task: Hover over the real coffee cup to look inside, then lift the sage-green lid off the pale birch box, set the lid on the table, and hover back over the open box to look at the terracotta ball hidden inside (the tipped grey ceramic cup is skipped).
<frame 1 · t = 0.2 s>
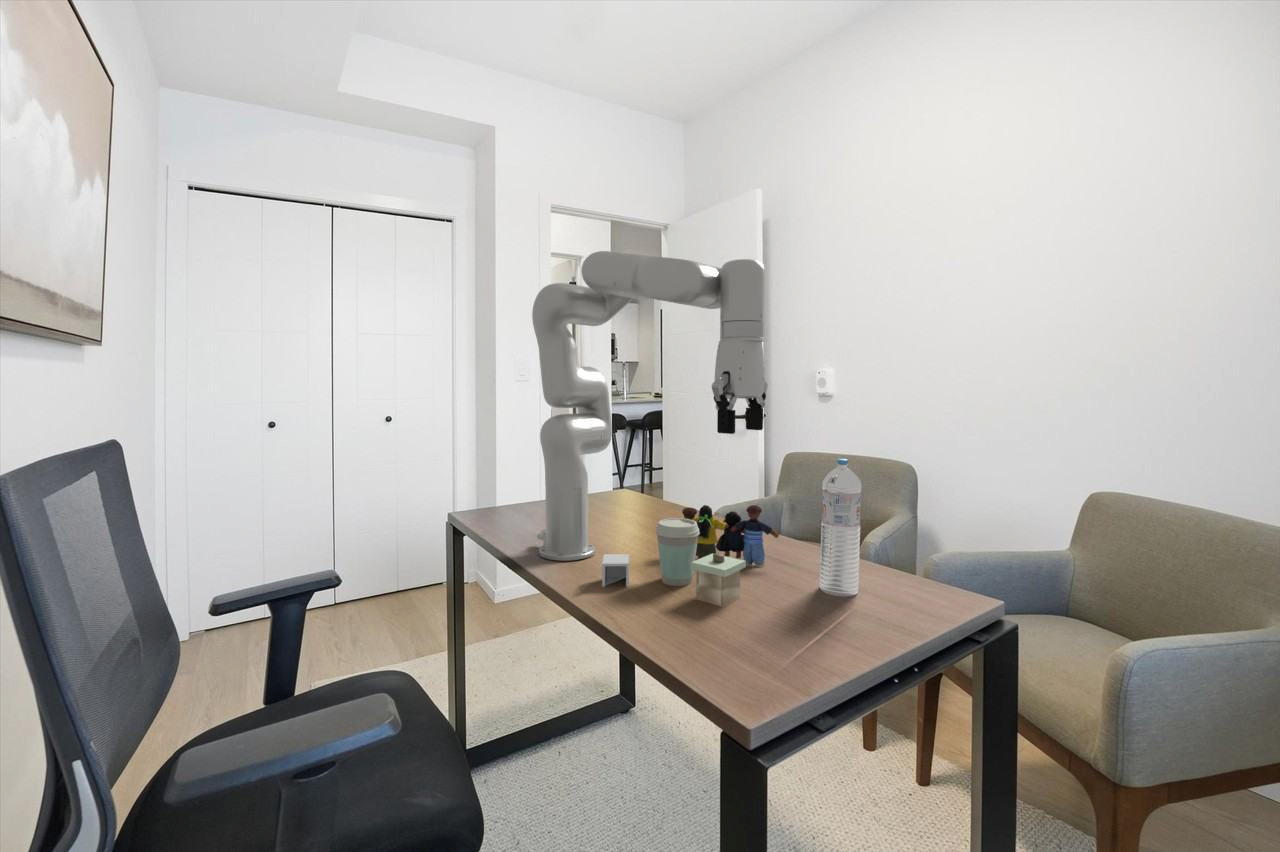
hand: (740, 431, 105), 30 cm above the table, fingers open, 9 cm apart
doll family: (722, 562, 130), on the table
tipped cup: (615, 584, 116), on the table
box: (718, 600, 107), on the table
ball: (718, 598, 107), resting on box
lid: (718, 568, 106), point 6 cm above the table, touching box
coffee cup: (677, 584, 116), on the table
water bottle: (838, 593, 111), on the table
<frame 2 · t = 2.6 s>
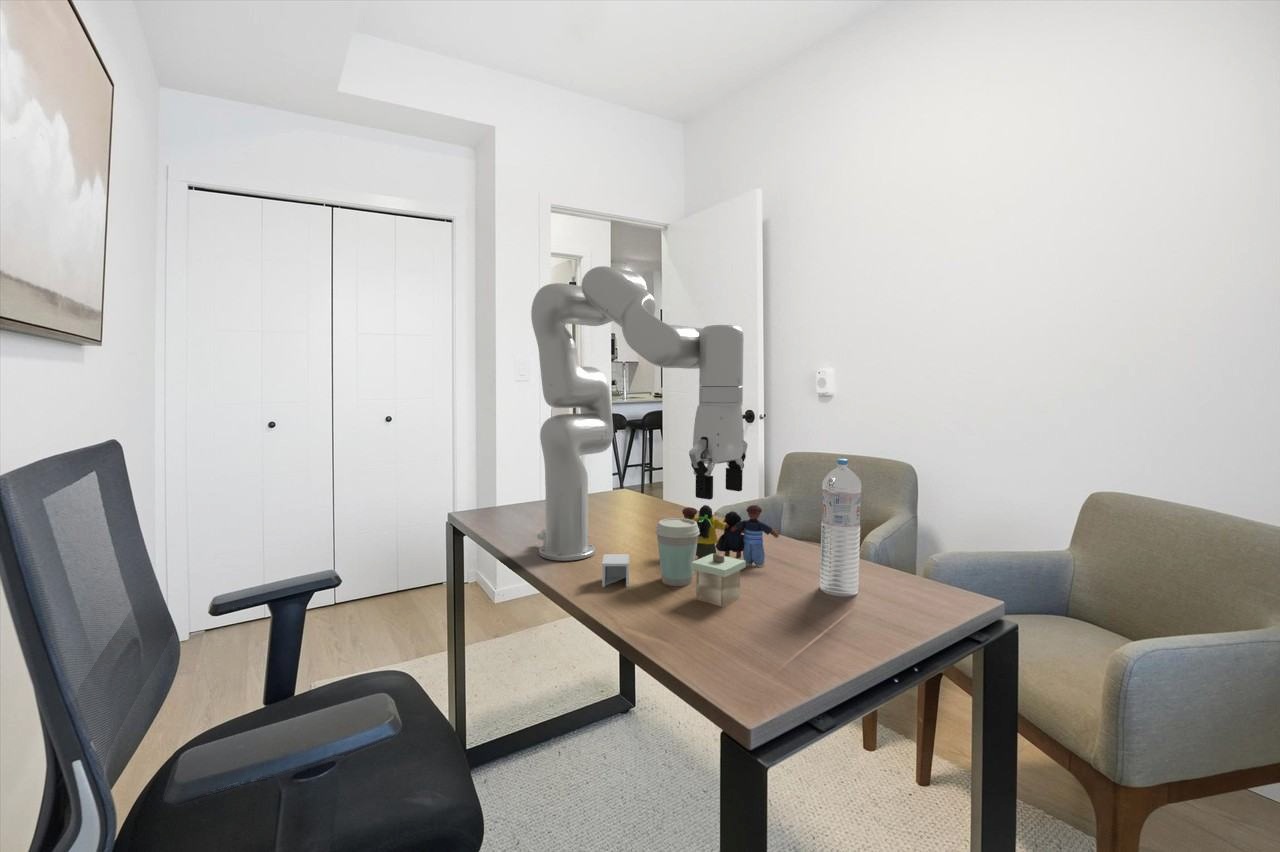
hand: (719, 494, 105), 19 cm above the table, fingers open, 9 cm apart
nothing on the table moved.
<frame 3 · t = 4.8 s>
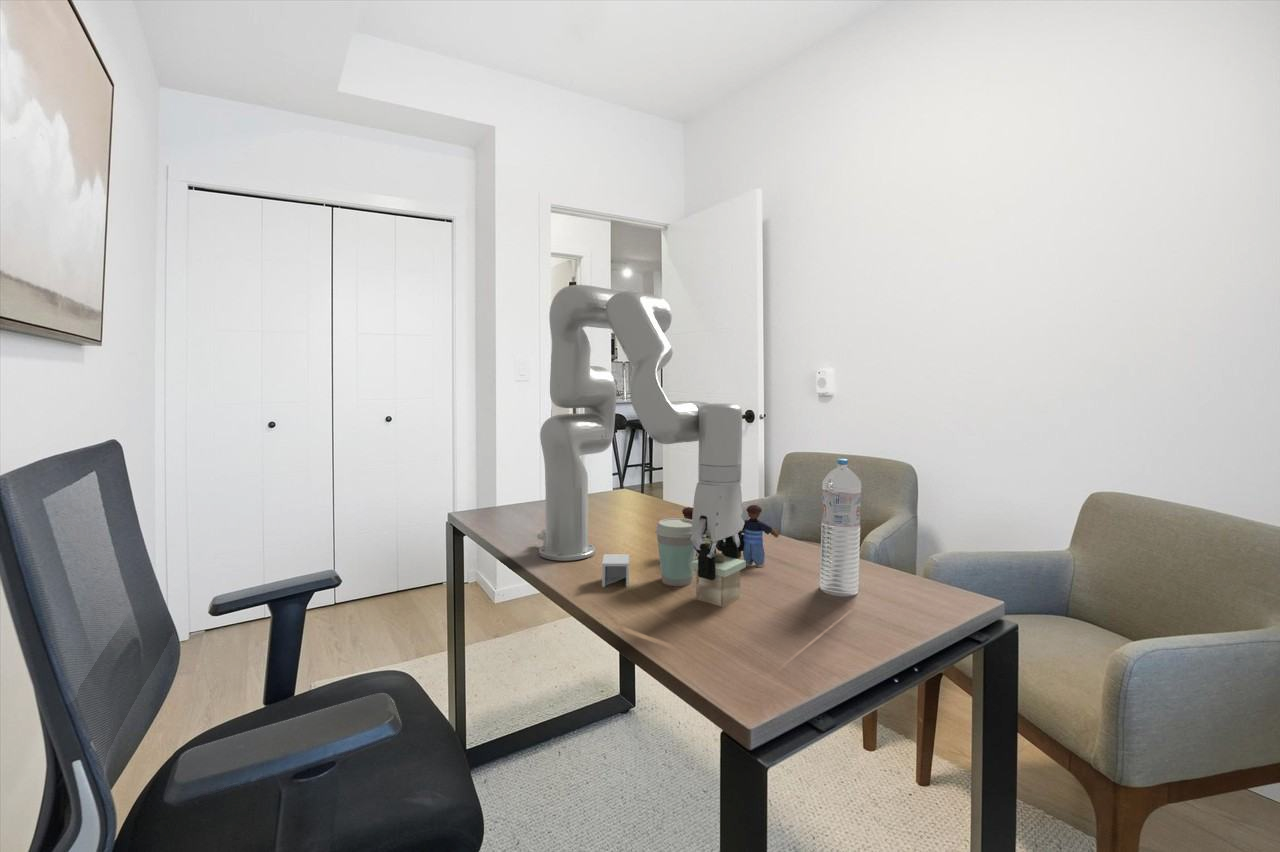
hand: (718, 572, 106), 5 cm above the table, fingers closed on lid, 7 cm apart
lid: (718, 568, 106), point 6 cm above the table, touching box, gripper
everything else where it was.
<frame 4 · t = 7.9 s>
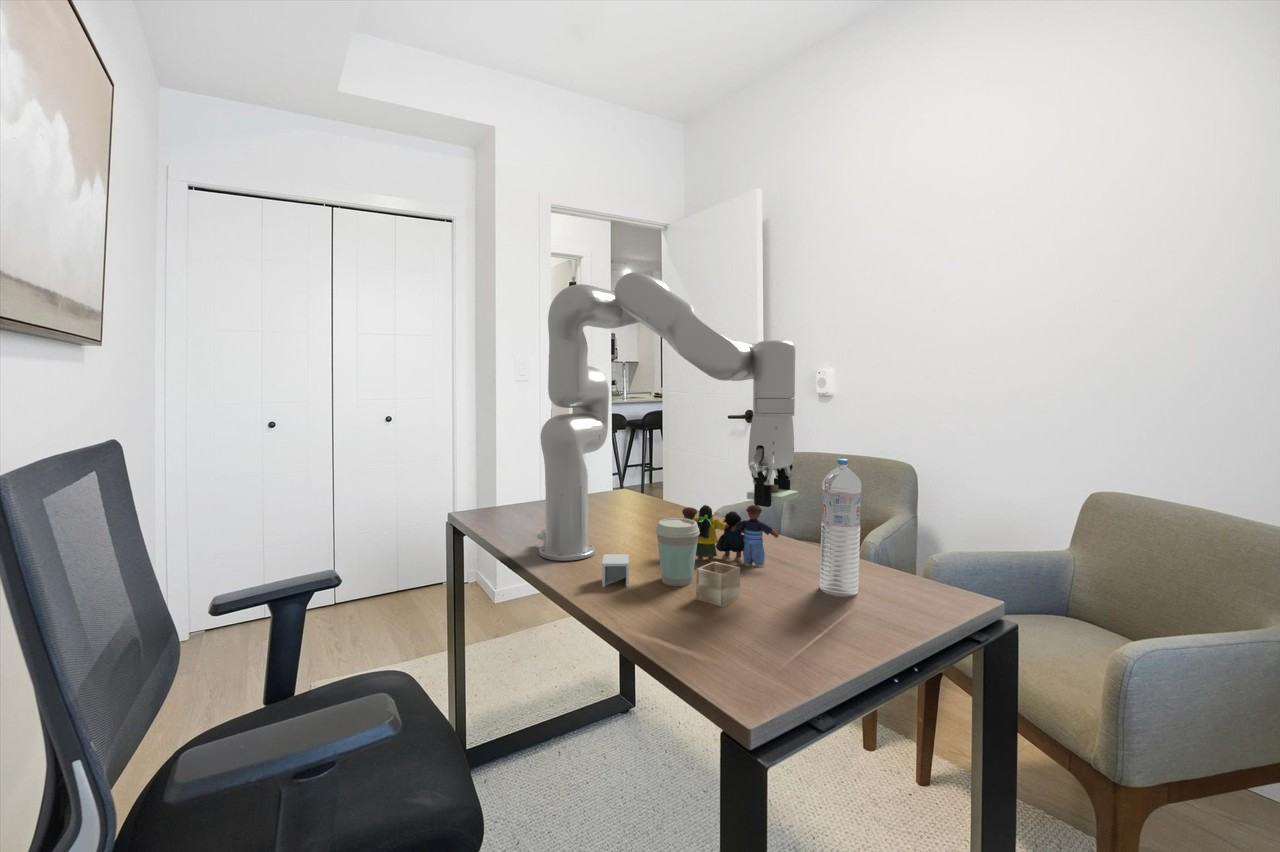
hand: (772, 501, 112), 17 cm above the table, fingers closed on lid, 7 cm apart
lid: (772, 498, 112), point 17 cm above the table, touching gripper
everything else where it was.
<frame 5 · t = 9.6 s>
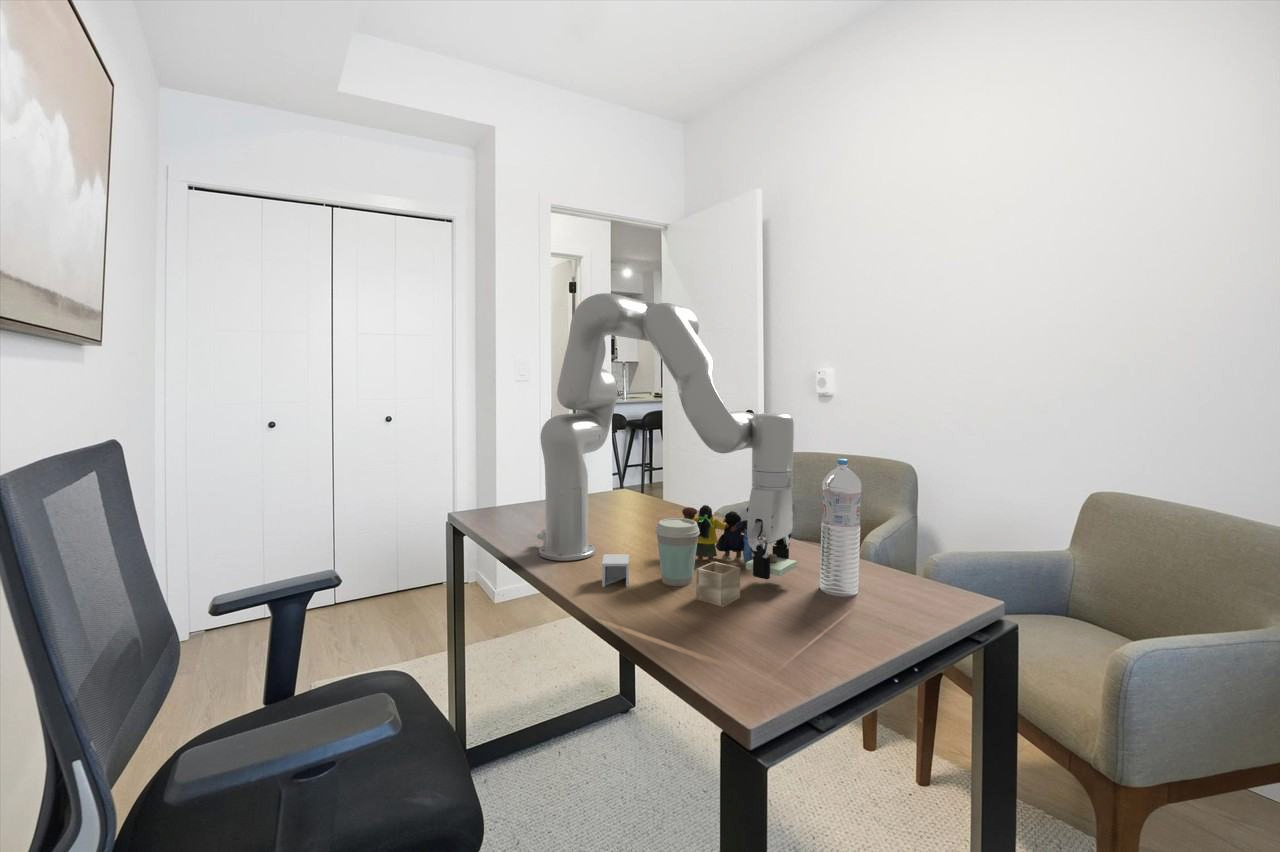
hand: (771, 571, 113), 3 cm above the table, fingers closed on lid, 7 cm apart
lid: (771, 568, 113), point 4 cm above the table, touching gripper
everything else where it was.
when the fingers open (1 cm above the table, at t = 11.0 s): lid drops 3 cm, on the table.
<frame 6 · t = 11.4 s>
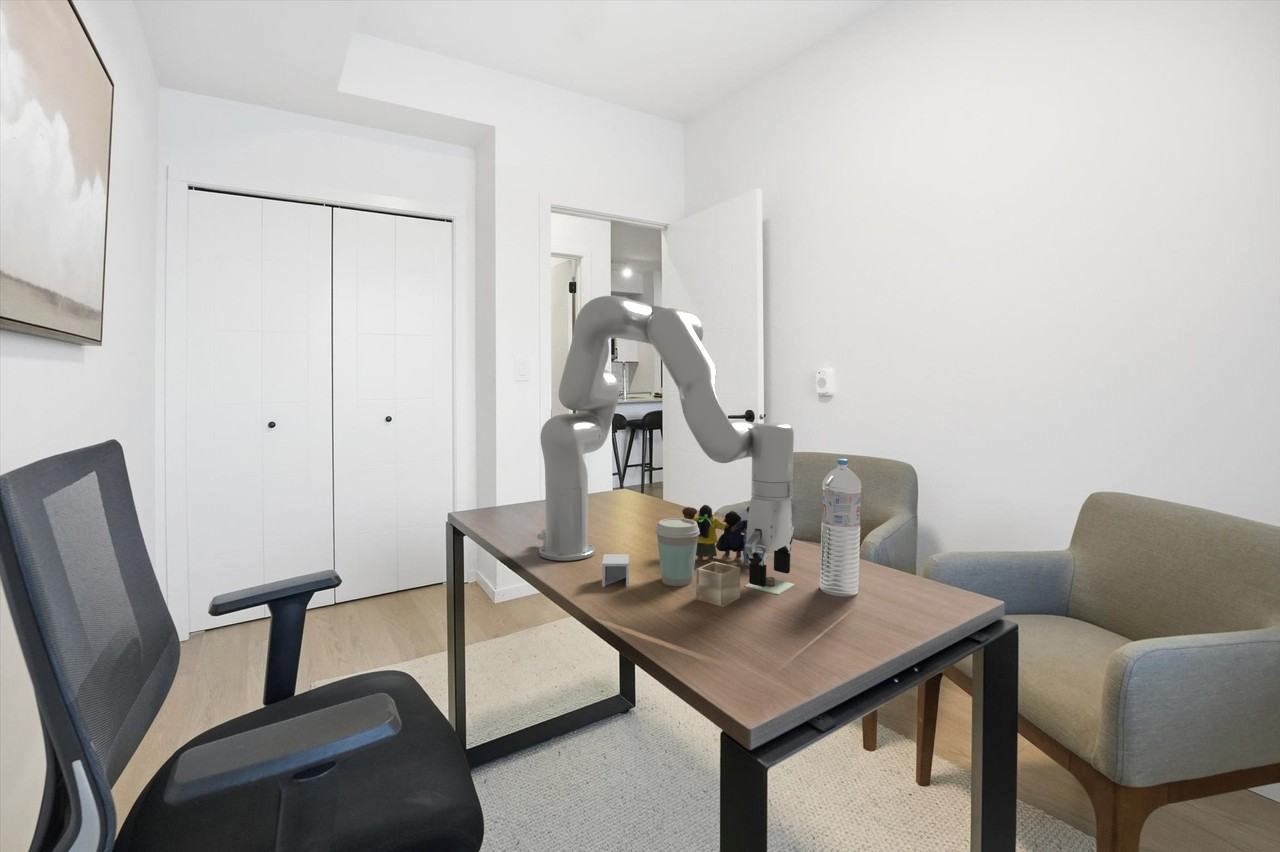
hand: (770, 578, 113), 2 cm above the table, fingers open, 9 cm apart
lid: (769, 591, 113), on the table
everything else where it was.
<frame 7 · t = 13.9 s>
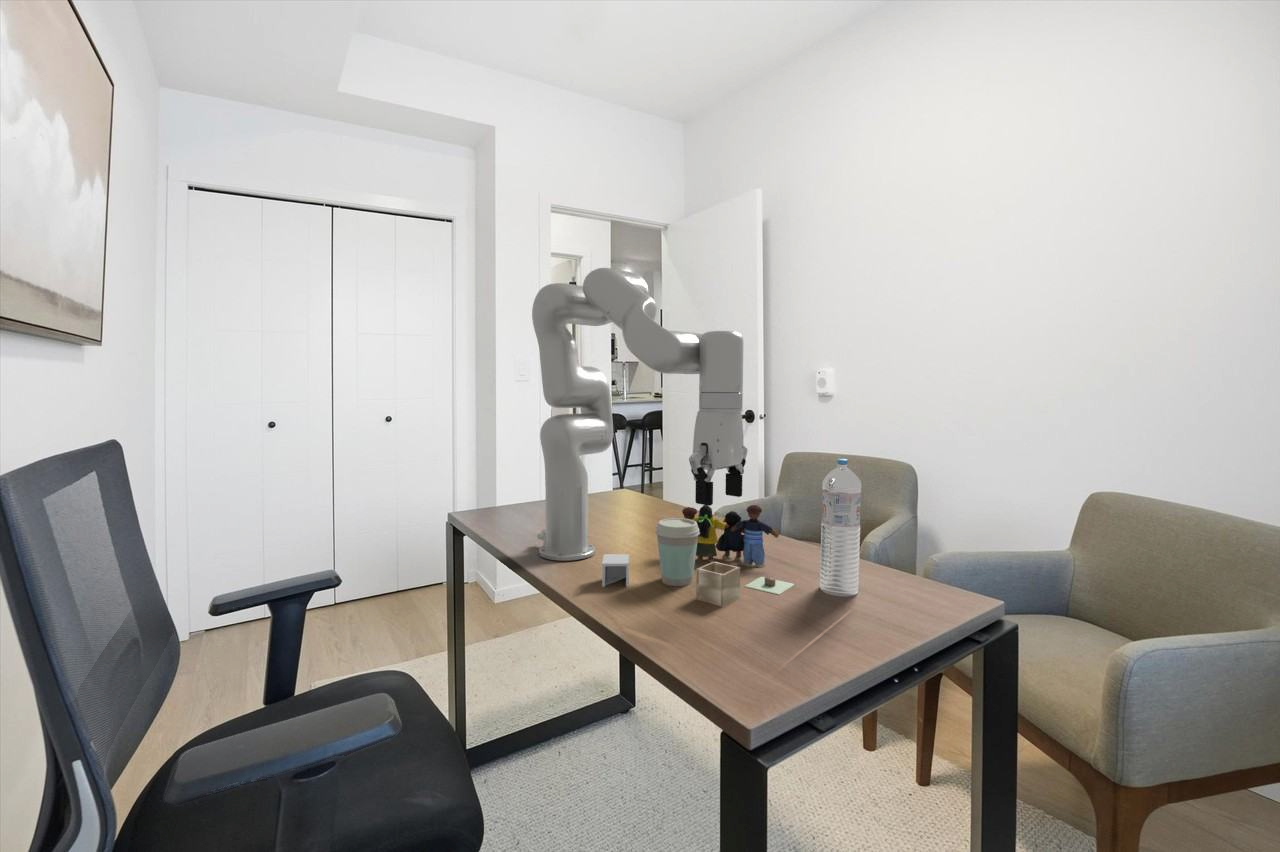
hand: (719, 499, 105), 18 cm above the table, fingers open, 9 cm apart
nothing on the table moved.
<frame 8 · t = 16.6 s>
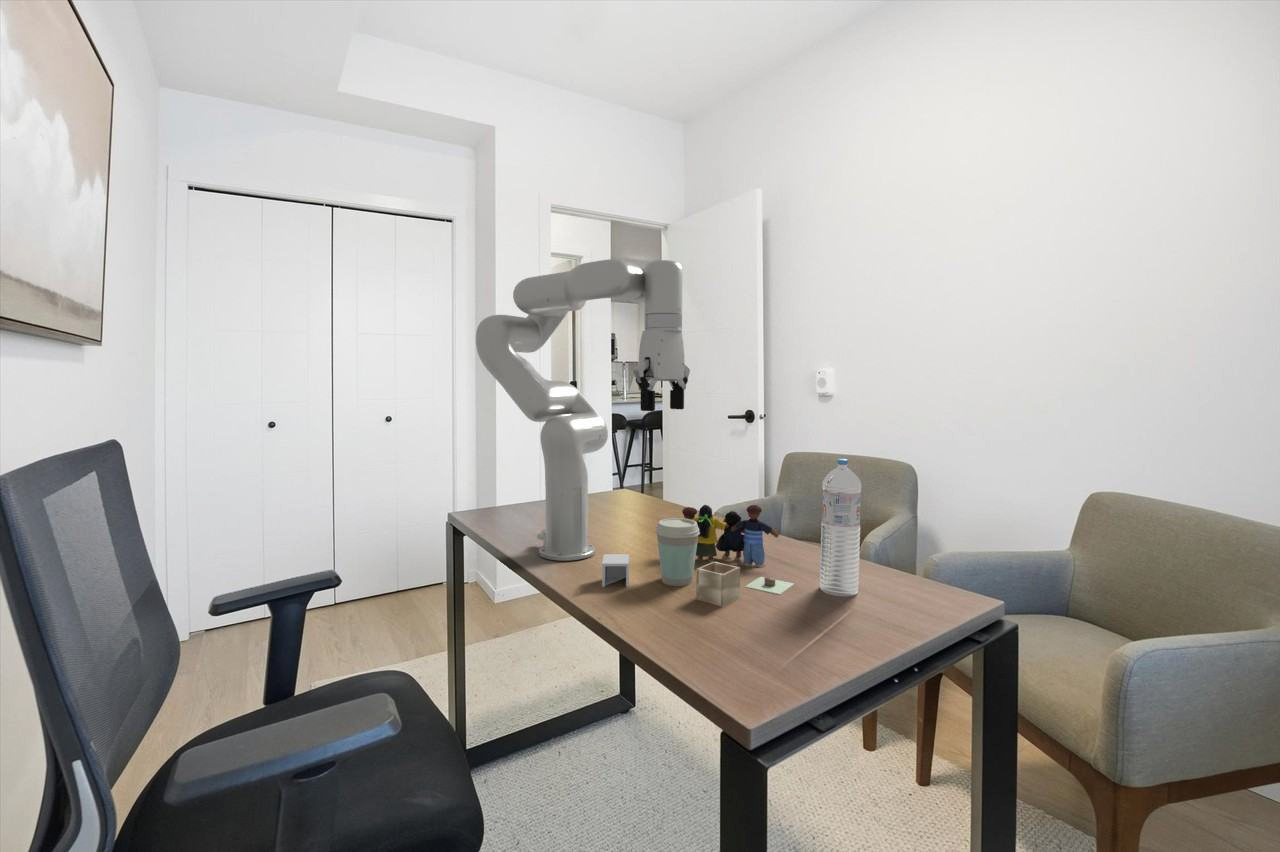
hand: (662, 410, 121), 33 cm above the table, fingers open, 9 cm apart
nothing on the table moved.
at the end: lid inside the target area (0.0 cm from its centre), on the table; lid moved 14.3 cm from its start; lid tilted 0° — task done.
